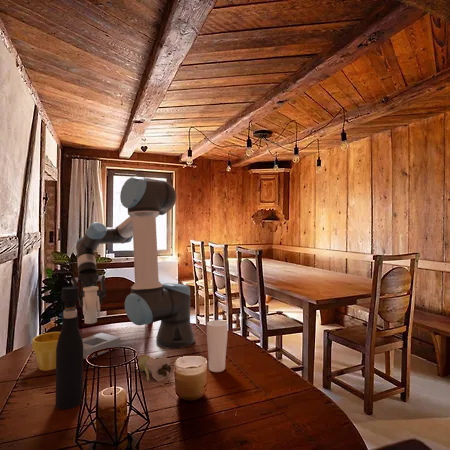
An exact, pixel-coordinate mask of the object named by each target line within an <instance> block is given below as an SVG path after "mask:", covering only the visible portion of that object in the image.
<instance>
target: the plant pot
mask: <svg viewBox="0 0 450 450" xmlns="http://www.w3.org/2000/svg"><path fill="white" fill-rule="evenodd" d="M60 333H61V331H51V332H47V333H42V334H39V335H36V336H35V337H33V338H32V345H31V346H32V351H33V352H34V353H35V358H36V361H37V365H38V369H39V370H40V371H43V372H44V371H45V372H49V371H52V370H56V347H57V342H58V338H59V336H60Z"/></svg>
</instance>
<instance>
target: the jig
mask: <svg viewBox="0 0 450 450" xmlns="http://www.w3.org/2000/svg"><path fill="white" fill-rule="evenodd" d="M82 341H83V360H86V358H87V356H88V355H90V354H91V353H93V352H95V351H98V350H101V349H105V348H109V347H117V346H120V347H121V337H120V336H117V335H112V334H109V333H104V332H99V333H96V334H93V335H90V336H86V337H84V338H83V337H82ZM107 352H109V351H102V352H99V353H98V356H100V355H103V354H106V353H107ZM95 357H96V356H94V355H93V356H92V358H95Z"/></svg>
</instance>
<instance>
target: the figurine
mask: <svg viewBox="0 0 450 450" xmlns="http://www.w3.org/2000/svg"><path fill="white" fill-rule="evenodd" d="M135 351H136V353H137V354H138V355H137V354H136V355H137V357H138V365H139V369H140V370H139V371H140V372H141V371H143V372H144V371H145V375H146V380H147V382H150V381H151V379H150V375H149V374H151V375H152V378H153V379H155V381H157V382H160V381H163V380H164V379H166V378H167V376H168V374H170V373H171V372H172V367H171V361H170V359H169V358H168V357H167V356H161V357H159V358H155V357H151V356H149V355H147V354H146V353H143V354H140V352H139V351H137V350H135ZM139 354H140V355H139ZM136 368H137V367H136ZM136 368H135V369H136Z"/></svg>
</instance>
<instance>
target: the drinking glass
mask: <svg viewBox="0 0 450 450" xmlns="http://www.w3.org/2000/svg"><path fill="white" fill-rule="evenodd" d="M228 330H229V329H228V322H227V321H225V320H221V319H220V320H218V319H215V320H209V321H207V323H206V346H207V347H206V348H207V356H208V358H207V360H208V369H209V371H210V372H213V373H221V372H224V370H225V369H226V356H227V347H228Z"/></svg>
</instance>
